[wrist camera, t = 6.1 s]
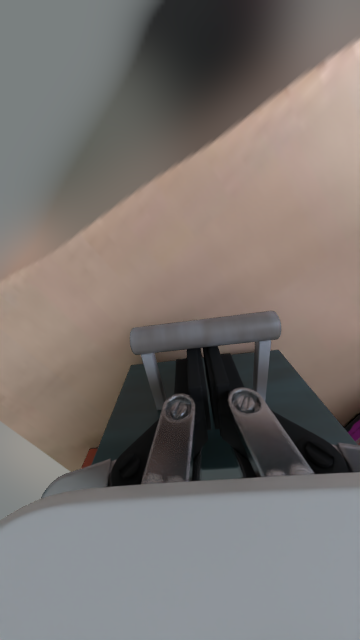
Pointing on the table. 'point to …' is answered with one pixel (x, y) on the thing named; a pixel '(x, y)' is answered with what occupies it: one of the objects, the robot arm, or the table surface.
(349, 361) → the table surface
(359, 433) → the candy bar box
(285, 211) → the table surface
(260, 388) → the drawer
